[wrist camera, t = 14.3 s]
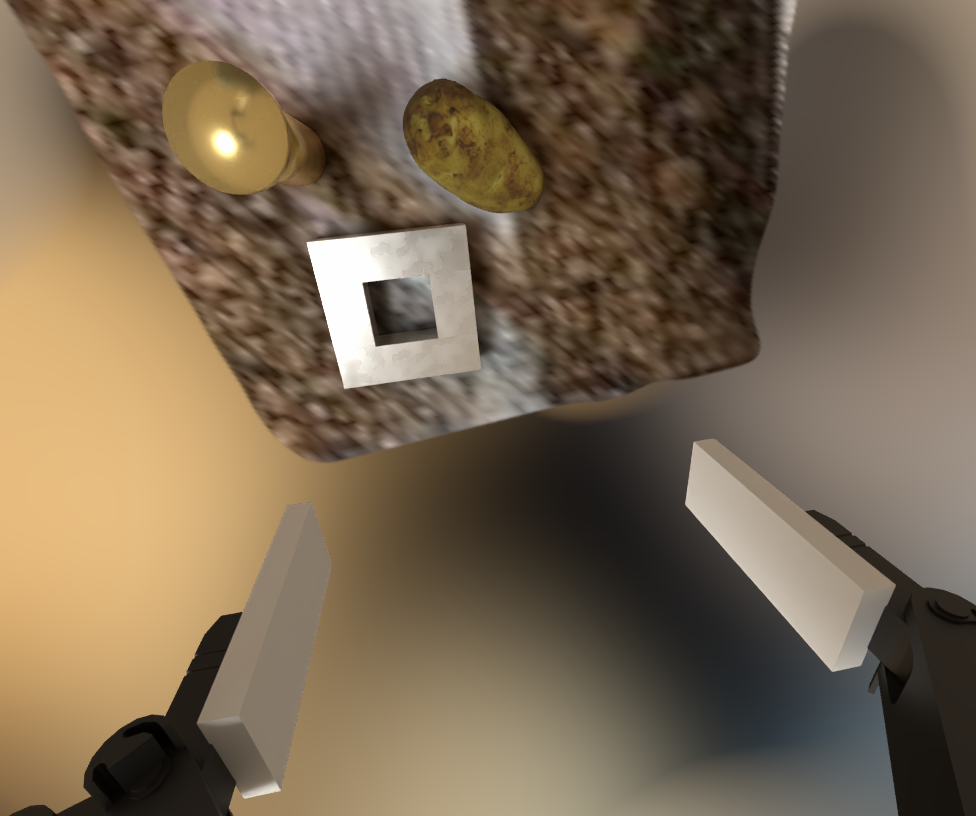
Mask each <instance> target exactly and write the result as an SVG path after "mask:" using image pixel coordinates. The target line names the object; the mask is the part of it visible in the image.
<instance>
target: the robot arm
mask: <svg viewBox="0 0 976 816" xmlns="http://www.w3.org/2000/svg"><path fill="white" fill-rule="evenodd" d="M685 505H686V506H687V507H688V508H689V509H690V510H691V512H692V513H693V514H694V515H695V516H696V517H697V518H698V520H699V521H700V522H701V523H702V524H703V525H704V526H705V527H706V529H707V530H708V531H709V532H710V533H711V534H712V535H713V537H714V538H715V539H716V540H717V541H718V542H719V543H720V544H721V546H722V547H723V548H724V549H725V550H726V551H727V552H728V554H729V555H730V556H731V557H732V558H733V559H734V560H735V562H736V563H737V564H738V565H739V566H740V567H741V568H742V570H743V571H744V572H745V573H746V574H747V575H748V576H749V577H750V579H751V580H752V581H753V582H754V583H755V584H756V585H757V587H758V588H759V589H760V590H761V591H762V592H763V593H764V594H765V596H766V597H767V598H768V599H769V600H770V601H771V603H772V604H773V605H774V606H775V607H776V608H777V609H778V610H779V612H780V613H781V614H782V615H783V616H784V617H785V618H786V619H787V621H788V622H789V623H790V624H791V625H792V626H793V628H794V629H795V630H796V631H797V632H798V633H799V634H800V635H801V637H802V638H803V639H804V640H805V641H806V642H807V643H808V645H809V646H810V647H811V648H812V649H813V650H814V651H815V652H816V654H817V655H818V656H819V657H820V658H821V659H822V660H823V662H824V663H825V664H826V665H827V666H828V667H829V668H830V670H831V671H833V672H834V671H838V670H843V669H848V668H852V667H857V666H861V664H862V661H863V659H864V657H865V655H866V652H867V650H868V649H869V650H870V651H871V652H872V653H873V654H874V655H875V656H876V657H877V658H878V659H879V660H880V663H879V665H878V667H877V669H876V671H875V674H874V676H873V678H872V680H871V682H870V685H869V690H868V692H870V693H873V694H874V693H875V691H876V689H877V687H878V686H879V687H880V693H881V699H882V706H883V714H884V720H885V727H886V734H887V740H888V747H889V755H890V761H891V768H892V774H893V782H894V788H895V795H896V802H897V809H898V815H899V816H976V606H975V605H974V604H973V603H971V602H969V601H968V600H966V599H964V598H962V597H960V596H958V595H955V594H953V593H950V592H948V591H945V590H940V589H935V588H923V587H921V586H920V585H918V584H917V583H916V582H915V581H913V580H912V579H911V578H909V577H908V576H907V575H905V574H904V573H903V572H902V571H900V570H899V569H898V568H896V567H895V566H894V565H892V564H891V563H890V562H889V561H887V560H886V559H885V558H883V557H882V556H881V555H879V554H878V553H877V552H876V551H874V550H873V549H872V548H870V547H869V546H868V547H867V546H866V545H865V543H864V542H863V541H861V540H860V539H859V538H857V537H856V536H852V534H851V532H849V531H848V530H847V529H846V528H844V527H843V526H842V525H840V524H839V523H838V522H836V521H835V520H833V519H831V518H829V517H827V516H825V515H823V514H821V513H819V512H817V511H815V510H810V511H804V510H802V509H801V508H800V507H798V506H797V505H796V504H795V503H794V502H792V501H791V500H790V499H789V498H787V497H786V496H785V495H784V494H782V493H781V492H780V491H779V490H777V489H776V488H775V487H773V485H771V484H770V483H769V482H768V481H766V480H765V479H764V478H763V477H761V476H760V475H759V474H758V473H756V472H755V471H754V470H753V469H751V468H750V467H749V466H748V465H746V464H745V463H744V462H743V461H741V460H740V459H739V458H738V457H736V456H735V455H734V454H733V453H732V452H730V451H729V450H728V449H727V448H725V447H724V446H723V445H722V444H720V443H719V442H718V441H717V440H715V439H708V440H702V441H696V442H694V445H693V452H692V459H691V467H690V474H689V482H688V489H687V496H686V504H685ZM331 566H332V564H331V561H330V557H329V554H328V551H327V548H326V545H325V542H324V539H323V536H322V533H321V529H320V526H319V523H318V520H317V517H316V514H315V511H314V508H313V505H312V502H306V503H299V504H293V505H287V507H286V510H285V512H284V514H283V517H282V519H281V522H280V524H279V526H278V529H277V531H276V534H275V536H274V538H273V541H272V543H271V546H270V548H269V551H268V553H267V555H266V558H265V560H264V563H263V565H262V567H261V570H260V572H259V575H258V577H257V580H256V582H255V584H254V587H253V589H252V591H251V594H250V596H249V599H248V601H247V603H246V606H245V608H244V611H243V612H240V613H234V614H229V615H223V616H221V617H220V618H219V619H218V620H217V621H216V622H215V623H214V624H213V626H212V627H211V628H210V629H209V630H208V631H207V633H206V634H205V635H204V637H203V639H202V641H201V643H200V645H199V647H198V649H197V651H196V654H195V658H194V659H193V660H192V662H191V664H190V666H189V668H188V670H187V675H186V676H184V678H183V680H182V682H181V684H180V687H179V689H178V691H177V693H176V695H175V697H174V699H173V701H172V703H171V705H170V708H169V710H168V712H167V714H166V716H165V717H164V716H162V715H148V716H145V717H142V718H138V719H136V720H134V721H133V722H131V723H129V724H127V725H125V726H124V727H122V728H120V729H119V730H118V731H117V732H116V733H115V734H114V735H112V736H111V737H110V738H109V739H107V740H106V741H105V742H104V743H103V745H102V746H101V747H100V748H99V750H98V751H97V752H96V753H95V755H94V756H93V757H92V759H91V761H90V763H89V765H88V767H87V770H86V772H85V775H84V788H85V789H86V791H88V793H89V794H90V795H91V797H89V798H87V799H85V800H83V801H81V802H79V803H77V804H75V805H73V806H72V807H69V808H67V809H65V810H64V811H62V812H60V813H58V814H55V813H54V812H53V811H52V810H51V809H49V808H48V807H47V806H45V805H35V806H29V807H27V808H24V809H22V810H20V811H17V812H15V813H13V814H12V815H10V816H233V814H232V812H231V811H230V809H229V805H230V801H231V798H232V795H233V792H234V788H235V785H236V786H237V788H238V790H239V791H240V793H241V794H242V796H243V798H244V799H245V798H249V797H254V796H258V795H263V794H267V793H272V792H277V791H281V788H282V783H283V779H284V774H285V770H286V765H287V761H288V757H289V752H290V748H291V743H292V738H293V734H294V730H295V726H296V721H297V717H298V712H299V708H300V704H301V699H302V695H303V690H304V686H305V681H306V677H307V673H308V668H309V663H310V659H311V655H312V651H313V646H314V641H315V637H316V633H317V628H318V624H319V620H320V615H321V611H322V606H323V602H324V597H325V593H326V589H327V584H328V580H329V575H330V571H331Z"/></svg>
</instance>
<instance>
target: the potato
mask: <svg viewBox="0 0 976 816" xmlns="http://www.w3.org/2000/svg"><path fill="white" fill-rule="evenodd" d="M403 131H404V136H405V139H406V143H407V146H408V148H409V150H410V153H411V155H412V157H413V159H414V160H415V162H416V163H417V164H418V166H419V167H420V168H421V169H422V170H423V171H424V172H425V173H426V174H427V175H428V176H429V177H430V178H432V179H433V180H434V181H435V182H437V183H438V184H439V185H440V186H442V187H443V188H445V189H446V190H448V191H449V192H451V193H453V194H454V195H456V196H457V197H459V198H460V199H461V200H463V201H465V202H466V203H468V204H470V205H473V206H475V207H477V208H480V209H482V210H486V211H489V212H493V213H509V212H520V211H525V210H528V209H530V208H532V207H533V206H534V205H535V204H536V203H537V202H538V200H539V199H540V197H541V194H542V191H543V188H544V175H543V169H541V166H540V164H539V163H538V161H537V159H536V158H535V156H534V155H533V153H532V152H531V151H530V149H529V148H528V146H527V145H526V144H525V142H524V141H523V140H522V138H521V137H520V136H519V134H518V133H517V132H516V130H515V129H514V128H513V127H512V125H511V124H510V122H509V119H507V118H506V117H505V116H504V115H503V114H502V113H501V112H500V111H499V110H498V109H497V108H496V107H495V106H494V105H492V104H491V103H489V102H488V101H487V100H485V99H483V98H481V97H479V96H477V95H475V94H473V93H472V92H471V91H469V90H468V89H467V88H465V87H464V86H462V85H460V84H458V83H456V82H455V81H451V80H447V79H437V80H434V81H432V82H429V83H427V84H425V85H424V86H422V87H421V88H420V89H418V90H417V91H416V92H415V94H414V95H413V96H412V98H411V99H410V101H409V102H408V104H407V106H406V108H405V111H404V116H403Z"/></svg>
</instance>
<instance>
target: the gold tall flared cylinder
mask: <svg viewBox="0 0 976 816" xmlns="http://www.w3.org/2000/svg"><path fill="white" fill-rule="evenodd" d="M162 115H163V123H164V129H165V132H166V135H167V138H168V140H169V143H170V145H171V147H172V149H173V151H174V153H175V154H176V156H177V157H178V159H179V160H180V161H181V163H182V164H183V165H184V166H185V167H186V169H187V170H188V171H190V172H191V173H192V174H193V175H194V176H195V177H196V178H198V179H199V180H200V181H202V182H203V183H205V184H206V185H208V186H210V187H212V188H214V189H217V190H219V191H222V192H226V193H230V194H255V193H259V192H262V191H265V190H267V189H269V188H271V187H272V186H273V185H275V184H283V185H297V186H304V185H309V184H311V183H313V182H315V181H316V180H317V179H318V178H319V177H320V176H321V174H322V172H323V170H324V167H325V151H324V148H323V145H322V143H321V141H320V139H319V138H318V136H317V135H316V134H315V133H314V131H312V130H311V129H310V128H309V127H308V126H306V125H304V124H303V123H301V122H300V121H298V120H296V119H295V118H293V117H291V116H290V115H288V114H287V113H285V112H283V110H282V109H281V107H280V105H279V103H278V102H277V101H276V99H275V98H274V96H273V95H272V94H271V93H270V92H269V90H268V89H267V88H266V87H264V86H263V85H262V84H261V83H260V82H259V81H257V80H256V79H255V78H253V77H252V76H251V75H249V74H248V73H246V72H244V71H243V70H241V69H239V68H237V67H235V66H233V65H230V64H227V63H223V62H218V61H201V62H196V63H193V64H190V65H188V66H186V67H184V68H183V69H181V70H180V71H179V72H178V73H177V74H176V75H175V76H174V77H173V78H172V80H171V81H170V83H169V85H168V86H167V89H166V91H165V95H164V99H163V107H162Z"/></svg>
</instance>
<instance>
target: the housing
mask: <svg viewBox="0 0 976 816" xmlns="http://www.w3.org/2000/svg"><path fill="white" fill-rule="evenodd" d="M307 245H308V248H309V252H310V256H311V260H312V264H313V268H314V272H315V276H316V279H317V283H318V287H319V291H320V295H321V299H322V303H323V307H324V310H325V314H326V318H327V322H328V326H329V330H330V334H331V338H332V341H333V345H334V349H335V353H336V357H337V361H338V365H339V369H340V372H341V376H342V380H343V384H344V388H345V389H346V388H353V387H360V386H367V385H374V384H381V383H388V382H395V381H402V380H410V379H417V378H424V377H431V376H438V375H445V374H452V373H459V372H466V371H473V370H480V369H481V364H480V355H479V346H478V336H477V327H476V317H475V308H474V299H473V289H472V280H471V270H470V261H469V251H468V242H467V233H466V225H465V224H463V223H452V224H443V225H434V226H425V227H416V228H407V229H398V230H389V231H380V232H371V233H362V234H352V235H343V236H334V237H325V238H316V239H314V240H312V241H309V242H307ZM421 275H429V279H430V285H431V292H432V299H433V306H434V313H435V319H436V326H437V328H430V329H422V330H415V331H407V332H399V333H392V334H384V335H378V330H377V325H376V320H375V316H374V311H373V306H372V301H371V297H370V292H369V287H368V282H371V281H380V280H388V279H396V278H405V277H413V276H421Z"/></svg>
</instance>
